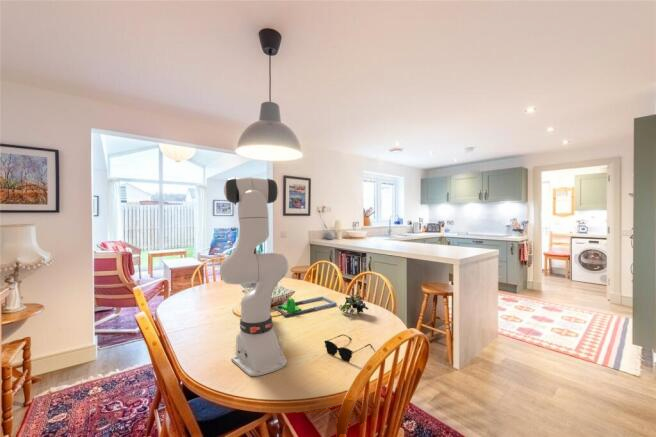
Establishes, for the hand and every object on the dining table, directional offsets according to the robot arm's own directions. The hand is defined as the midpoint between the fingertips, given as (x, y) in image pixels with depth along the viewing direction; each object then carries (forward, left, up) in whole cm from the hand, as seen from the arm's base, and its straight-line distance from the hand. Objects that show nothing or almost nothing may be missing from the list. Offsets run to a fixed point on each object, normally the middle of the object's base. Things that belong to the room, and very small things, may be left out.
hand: (266, 295), depth 148 cm
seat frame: (-1, -16, -11) cm, 19 cm away
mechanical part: (0, -14, -11) cm, 18 cm away
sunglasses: (-54, -14, -11) cm, 57 cm away
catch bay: (-1, -32, -11) cm, 34 cm away
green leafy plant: (-26, -39, -11) cm, 48 cm away
